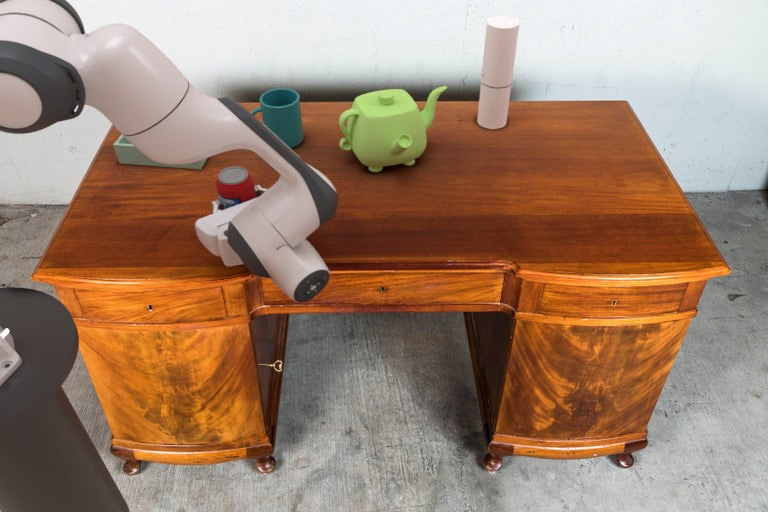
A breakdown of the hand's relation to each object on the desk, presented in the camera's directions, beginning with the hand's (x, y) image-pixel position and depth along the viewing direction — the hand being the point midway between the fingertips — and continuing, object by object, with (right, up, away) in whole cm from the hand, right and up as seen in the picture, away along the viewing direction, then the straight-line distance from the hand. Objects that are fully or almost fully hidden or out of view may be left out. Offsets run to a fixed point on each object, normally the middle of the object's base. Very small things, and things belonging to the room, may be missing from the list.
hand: (235, 196), depth 123 cm
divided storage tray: (-22, +12, +29) cm, 39 cm away
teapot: (+31, +10, +26) cm, 42 cm away
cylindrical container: (+54, +22, +39) cm, 70 cm away
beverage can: (+1, -5, +4) cm, 7 cm away
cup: (+3, +16, +33) cm, 37 cm away
